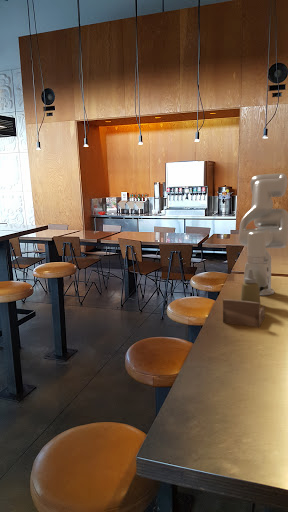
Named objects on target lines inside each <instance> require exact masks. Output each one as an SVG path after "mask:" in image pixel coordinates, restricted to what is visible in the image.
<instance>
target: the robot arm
mask: <svg viewBox="0 0 288 512" xmlns="http://www.w3.org/2000/svg"><path fill="white" fill-rule="evenodd" d="M249 186H250V191H251V192H250V193H251V196H252V197H251V207H250V210H248V211H246V213H245V214H244V215H243V217H242V218H241V219H240V220H241V221H240V223H239V227H238V229H239V230H238V242H239V244H240V245H241V246H246V249H247V250H246V251H247V253H246V255H247V256H246V257H247V258H246V259H247V261H246V262H245V264H244V269H243V271H244V272H243V283H245V278H246V277H247V276H248V272H249V269H252V272H253V276H254V278H256V283H257V284H258V285H259V294H260V296H271V295H274V293H275V290H274V288H272V255H271V254H270V252H269V250H267V249H283V248H286V247H287V245H288V211H287V210H286V209H285V208H273V207H274V201H273V199H272V198H281V197H284V196H285V194H286V191H287V187H288V176H287V175H286V174H285V173H268V174H267V173H265V174H258V175H254V176H252V177H251V179H250V185H249ZM252 221H253V224H254V226H255V228H247V226H248V225H249V224H250V223H251V222H252Z"/></svg>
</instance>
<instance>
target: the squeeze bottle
mask: <svg viewBox="0 0 288 512" xmlns="http://www.w3.org/2000/svg"><path fill="white" fill-rule="evenodd" d="M260 296H261V295H260V294H259V285H258V284H257V283H256V278H254V276H253V272H252V269H249V272H248V276H247V277H246V278H245V283H244V282H243V283H242V284H241V293H240V300H241V301H250V302H257V303H260V304H261V297H260Z"/></svg>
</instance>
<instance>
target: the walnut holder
mask: <svg viewBox="0 0 288 512" xmlns="http://www.w3.org/2000/svg"><path fill="white" fill-rule="evenodd" d="M265 313H266V307H265V306H262V305H261V302H260V303H257V302H250V301H241V299H230V298H229V299H228V298H227V299H225V298H224V299H222V323H225V324H233V325H241V326H247V327H255V328H259V327H260V325H261V324H262V323H263V321H264V319H265V315H266V314H265Z"/></svg>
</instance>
